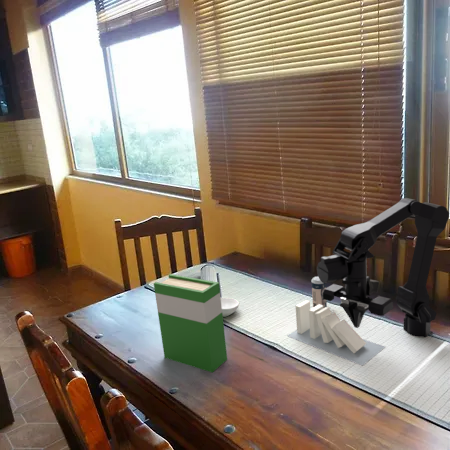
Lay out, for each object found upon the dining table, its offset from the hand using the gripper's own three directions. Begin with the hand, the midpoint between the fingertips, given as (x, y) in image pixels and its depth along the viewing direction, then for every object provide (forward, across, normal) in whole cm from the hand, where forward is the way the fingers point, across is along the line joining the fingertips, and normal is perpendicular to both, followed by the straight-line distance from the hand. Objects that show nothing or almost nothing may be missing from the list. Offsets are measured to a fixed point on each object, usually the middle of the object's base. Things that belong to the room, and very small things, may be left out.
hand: (357, 327), depth 129 cm
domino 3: (+7, +9, 0) cm, 11 cm away
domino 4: (+6, +4, 0) cm, 8 cm away
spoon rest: (+8, +50, +11) cm, 52 cm away
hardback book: (+8, +35, +31) cm, 47 cm away
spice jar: (+8, +24, -15) cm, 29 cm away
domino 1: (+7, +19, 0) cm, 20 cm away
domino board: (+8, +8, 0) cm, 11 cm away
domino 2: (+7, +14, 0) cm, 15 cm away
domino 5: (+6, -1, 0) cm, 6 cm away
